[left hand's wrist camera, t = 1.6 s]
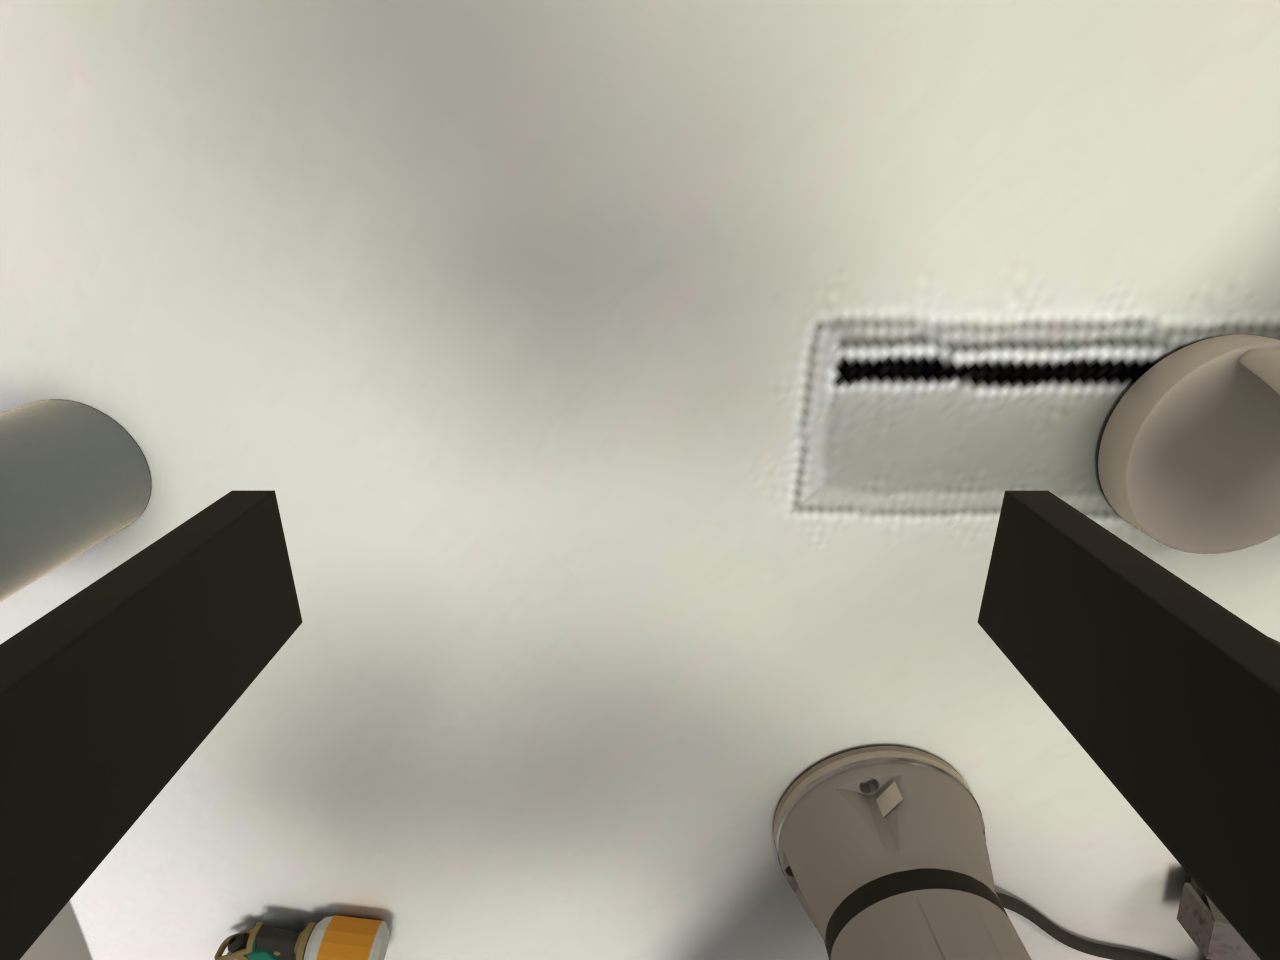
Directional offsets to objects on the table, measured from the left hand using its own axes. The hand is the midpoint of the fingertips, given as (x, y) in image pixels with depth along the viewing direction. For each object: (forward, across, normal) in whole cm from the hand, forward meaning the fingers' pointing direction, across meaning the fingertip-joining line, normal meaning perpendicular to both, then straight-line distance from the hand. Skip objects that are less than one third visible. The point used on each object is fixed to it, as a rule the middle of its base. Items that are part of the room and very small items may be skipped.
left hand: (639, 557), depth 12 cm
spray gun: (+28, -25, -54) cm, 66 cm away
